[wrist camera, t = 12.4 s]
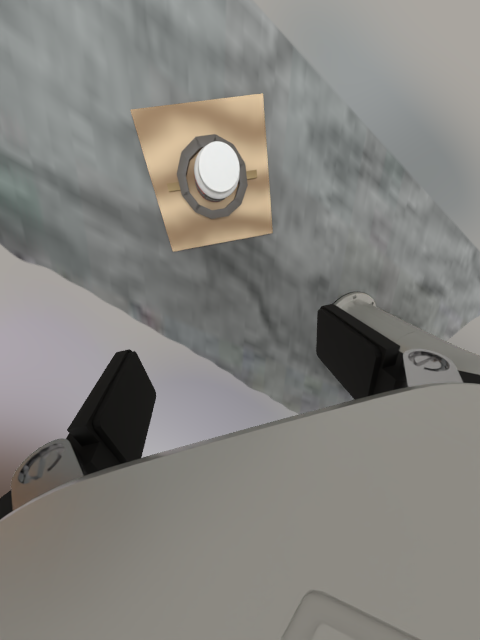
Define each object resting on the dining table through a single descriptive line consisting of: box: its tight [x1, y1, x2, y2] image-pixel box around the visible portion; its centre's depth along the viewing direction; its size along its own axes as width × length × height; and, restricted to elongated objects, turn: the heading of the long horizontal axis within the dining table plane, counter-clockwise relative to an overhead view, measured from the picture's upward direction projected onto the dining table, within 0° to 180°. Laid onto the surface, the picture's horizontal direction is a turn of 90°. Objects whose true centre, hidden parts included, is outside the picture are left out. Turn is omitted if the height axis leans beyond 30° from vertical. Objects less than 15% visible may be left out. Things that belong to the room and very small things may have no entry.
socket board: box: [131, 94, 273, 252], centre depth 31 cm, size 18×18×2 cm
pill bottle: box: [194, 141, 240, 202], centre depth 27 cm, size 6×6×10 cm
